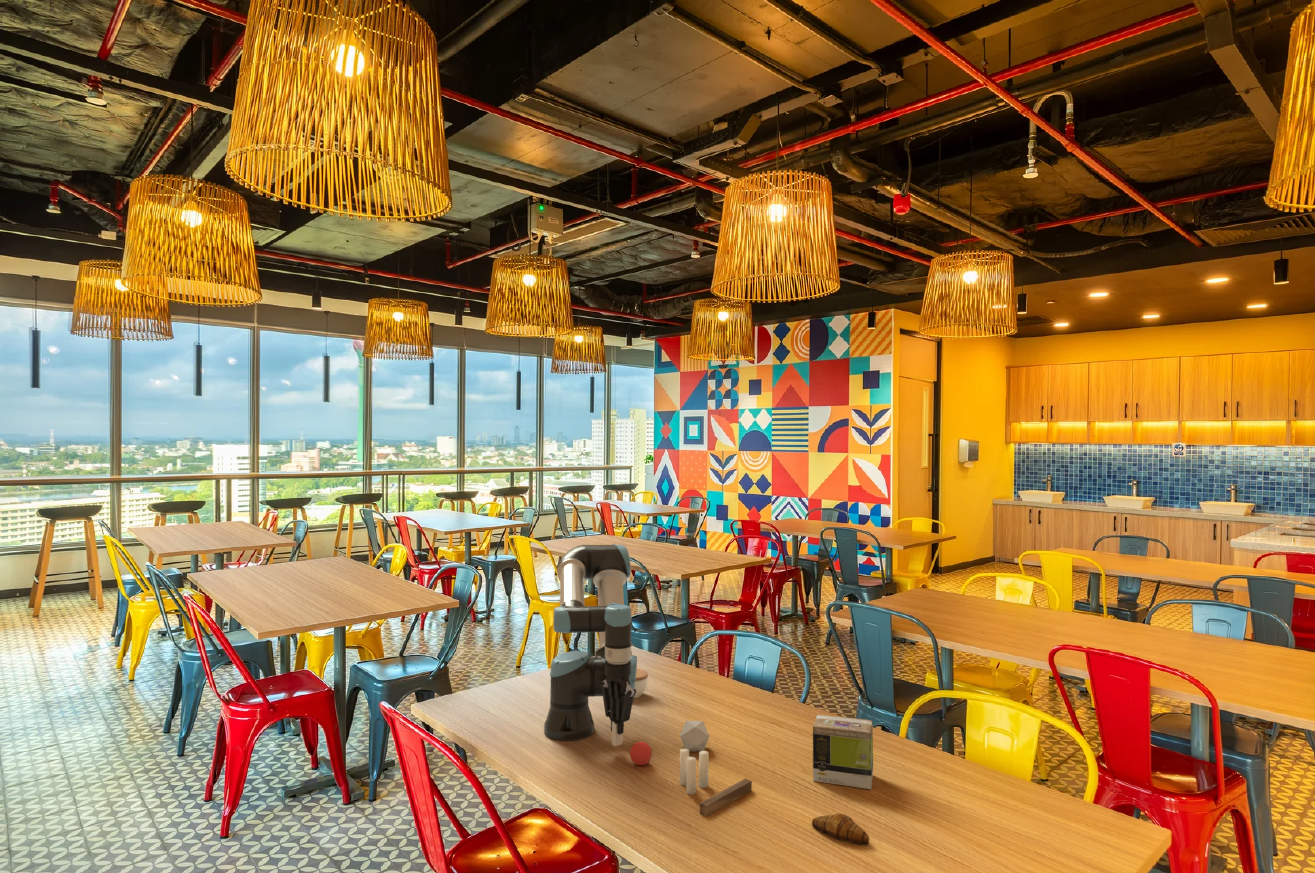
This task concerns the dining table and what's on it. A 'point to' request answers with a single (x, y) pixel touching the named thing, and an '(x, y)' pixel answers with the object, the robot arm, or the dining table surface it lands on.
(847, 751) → the tea box
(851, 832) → the croissant
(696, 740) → the die
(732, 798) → the back rail
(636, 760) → the ball
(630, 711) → the robot arm
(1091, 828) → the dining table surface
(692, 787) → the back pin right
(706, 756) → the back pin left
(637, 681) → the lidded jar
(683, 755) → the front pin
